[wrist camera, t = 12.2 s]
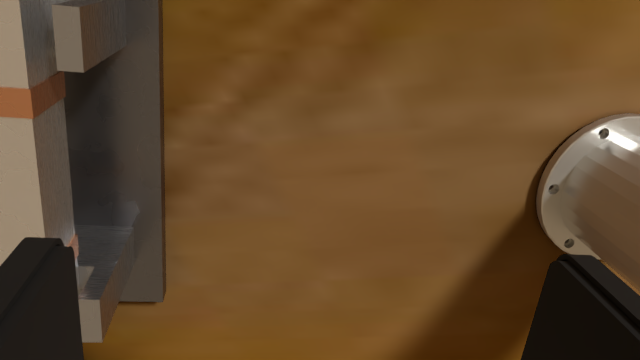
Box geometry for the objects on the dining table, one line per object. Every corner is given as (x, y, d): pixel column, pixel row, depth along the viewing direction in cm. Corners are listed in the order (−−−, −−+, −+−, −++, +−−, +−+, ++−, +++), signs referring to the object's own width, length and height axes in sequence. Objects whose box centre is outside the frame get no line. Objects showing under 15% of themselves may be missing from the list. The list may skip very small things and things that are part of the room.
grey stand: (161, -62, 33) (121, -72, 23) (165, 290, 42) (139, 387, 33) (-67, -87, 31) (-215, -110, 21) (-8, 287, 40) (-91, 389, 31)
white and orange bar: (86, 336, 35) (62, 387, 31) (12, 335, 34) (-23, 387, 30) (53, -57, 26) (14, -60, 22) (-48, -67, 25) (-108, -73, 21)
